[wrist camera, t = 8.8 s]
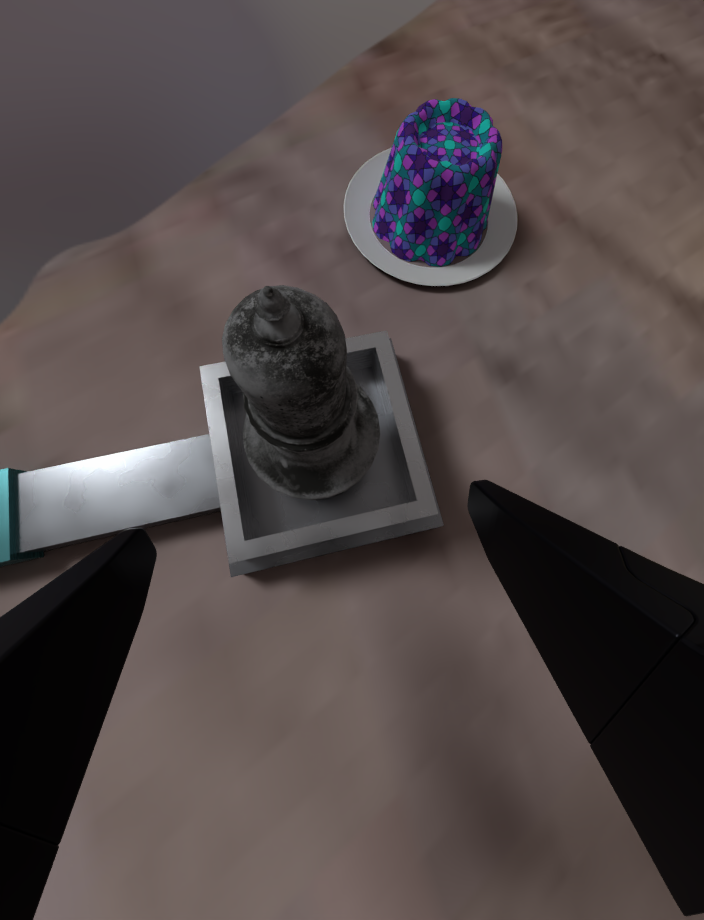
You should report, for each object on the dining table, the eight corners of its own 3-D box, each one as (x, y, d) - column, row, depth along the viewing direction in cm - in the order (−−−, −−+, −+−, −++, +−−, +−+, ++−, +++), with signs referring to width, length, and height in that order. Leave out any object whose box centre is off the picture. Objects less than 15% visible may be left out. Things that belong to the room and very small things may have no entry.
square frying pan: (435, 525, 18) (457, 525, 15) (-122, 660, 16) (-249, 696, 13) (387, 352, 20) (396, 316, 17) (-111, 450, 18) (-216, 432, 15)
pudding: (517, 298, 22) (571, 228, 17) (339, 289, 22) (338, 215, 16) (506, 159, 24) (550, 60, 19) (346, 149, 24) (347, 46, 19)
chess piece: (339, 381, 18) (333, 114, 6) (393, 471, 17) (501, 350, 5) (244, 429, 17) (41, 229, 6) (294, 526, 16) (176, 524, 5)
